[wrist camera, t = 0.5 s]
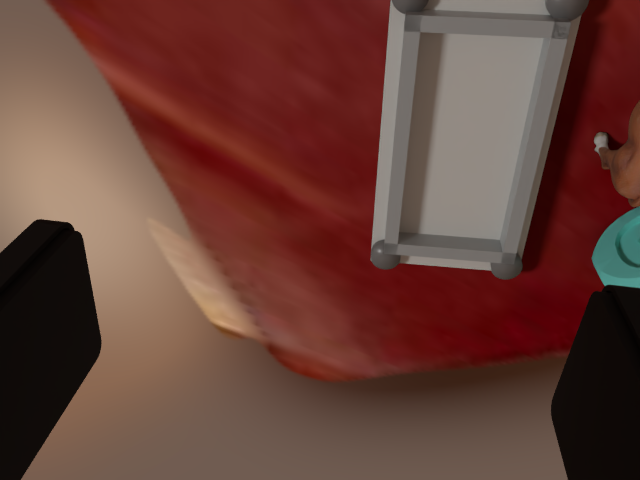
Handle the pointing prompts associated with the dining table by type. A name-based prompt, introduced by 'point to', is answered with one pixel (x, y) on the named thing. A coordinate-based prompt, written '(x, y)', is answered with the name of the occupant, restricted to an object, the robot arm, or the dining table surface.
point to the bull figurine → (624, 160)
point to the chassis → (467, 128)
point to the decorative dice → (620, 252)
